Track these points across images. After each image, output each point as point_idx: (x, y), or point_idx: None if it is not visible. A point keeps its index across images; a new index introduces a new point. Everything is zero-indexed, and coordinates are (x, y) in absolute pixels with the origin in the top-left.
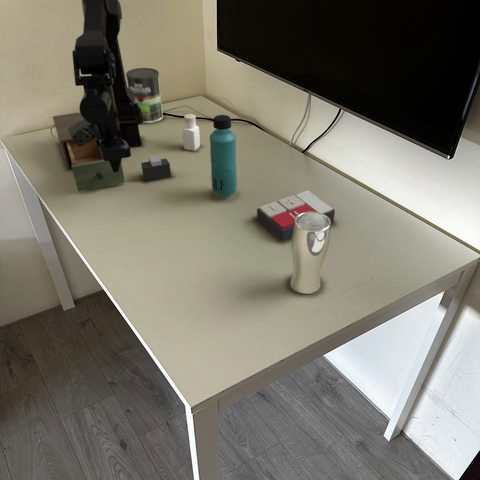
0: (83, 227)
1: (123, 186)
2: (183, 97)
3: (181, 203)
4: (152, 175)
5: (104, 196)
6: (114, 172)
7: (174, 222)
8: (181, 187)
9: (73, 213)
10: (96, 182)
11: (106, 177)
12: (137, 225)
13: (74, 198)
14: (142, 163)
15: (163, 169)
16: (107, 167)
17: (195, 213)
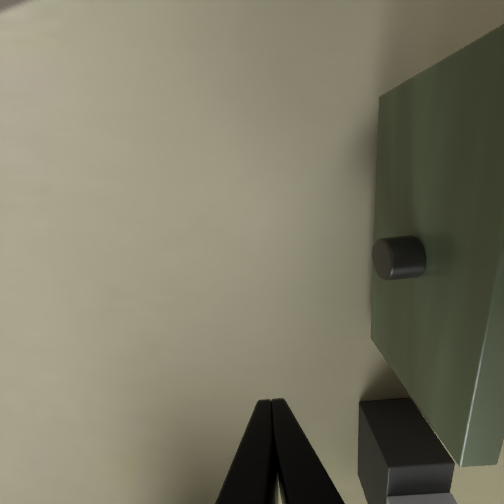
0: (22, 109)
1: (361, 320)
2: None
3: (165, 471)
4: (367, 445)
5: (300, 233)
6: (257, 403)
7: (46, 437)
8: None
9: (169, 56)
10: (390, 217)
11: (397, 284)
12: (32, 334)
13: (336, 69)
14: (442, 467)
15: (373, 499)
16: (436, 337)
17: (96, 491)
